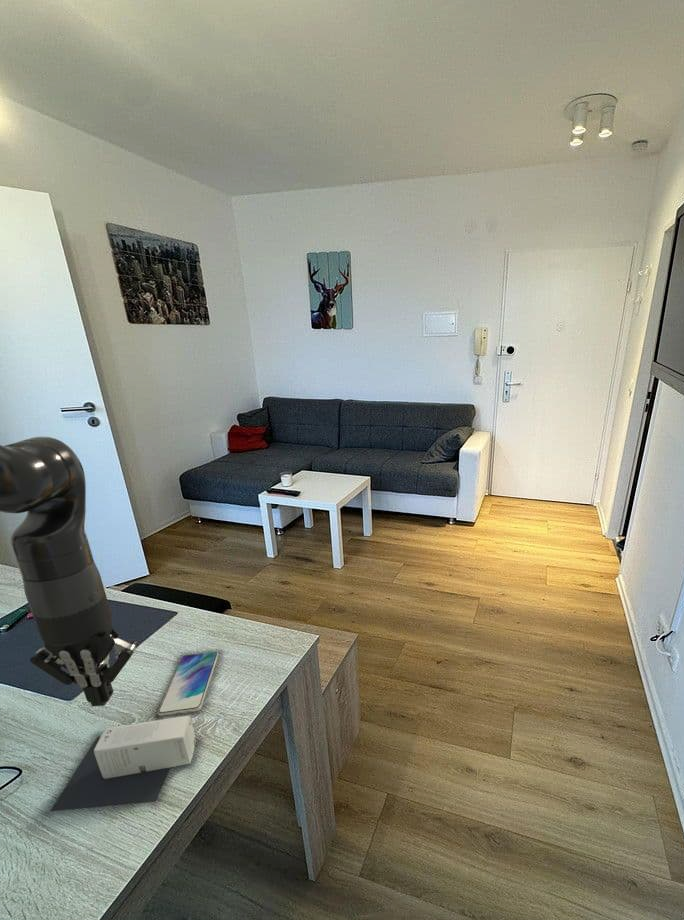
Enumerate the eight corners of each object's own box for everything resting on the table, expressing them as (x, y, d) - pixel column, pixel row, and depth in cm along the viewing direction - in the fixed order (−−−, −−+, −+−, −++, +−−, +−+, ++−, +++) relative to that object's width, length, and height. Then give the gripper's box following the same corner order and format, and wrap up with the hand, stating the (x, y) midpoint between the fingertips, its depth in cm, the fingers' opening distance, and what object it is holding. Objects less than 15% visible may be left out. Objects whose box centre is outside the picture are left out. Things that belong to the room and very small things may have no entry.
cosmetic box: (91, 752, 62) (182, 737, 64) (105, 726, 66) (190, 713, 68) (103, 781, 64) (190, 766, 66) (116, 754, 68) (197, 741, 70)
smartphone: (155, 714, 74) (181, 655, 88) (157, 718, 75) (182, 658, 88) (200, 708, 76) (219, 650, 89) (201, 712, 76) (219, 654, 90)
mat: (50, 813, 60) (49, 811, 60) (98, 738, 71) (97, 736, 71) (156, 803, 61) (155, 801, 61) (186, 731, 72) (186, 729, 72)
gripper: (138, 580, 59) (162, 678, 65) (32, 583, 57) (68, 684, 64) (109, 613, 52) (139, 720, 58) (-12, 618, 50) (33, 727, 57)
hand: (101, 701), depth 61 cm, fingers closed
